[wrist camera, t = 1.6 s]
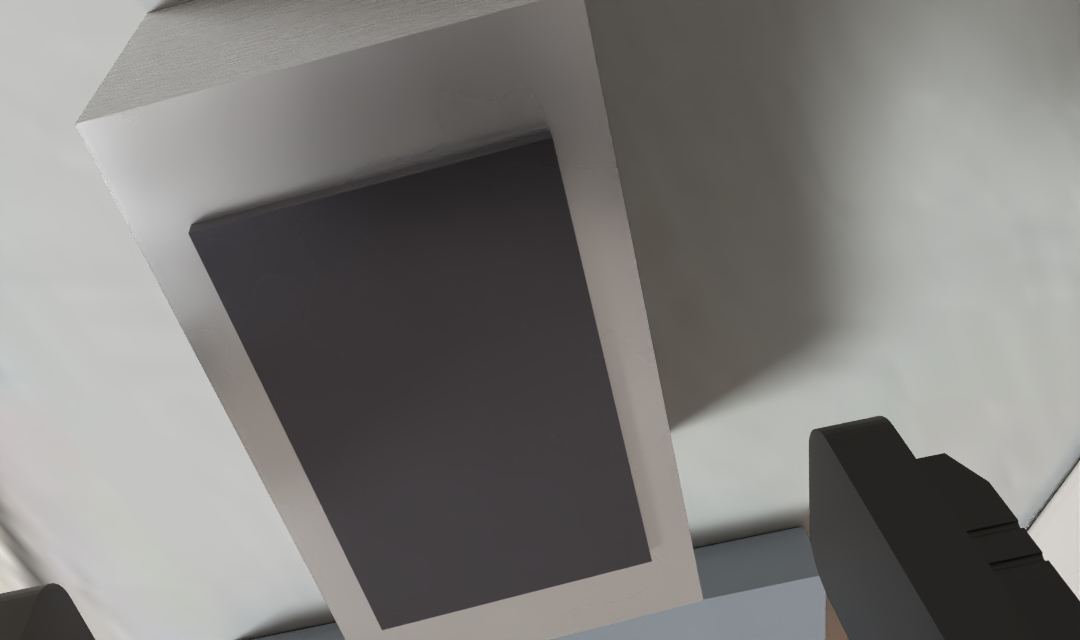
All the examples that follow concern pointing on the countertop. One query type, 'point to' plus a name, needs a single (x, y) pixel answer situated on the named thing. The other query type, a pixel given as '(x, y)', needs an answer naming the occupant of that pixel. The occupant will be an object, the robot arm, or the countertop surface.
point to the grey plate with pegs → (718, 598)
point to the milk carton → (1062, 531)
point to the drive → (411, 300)
